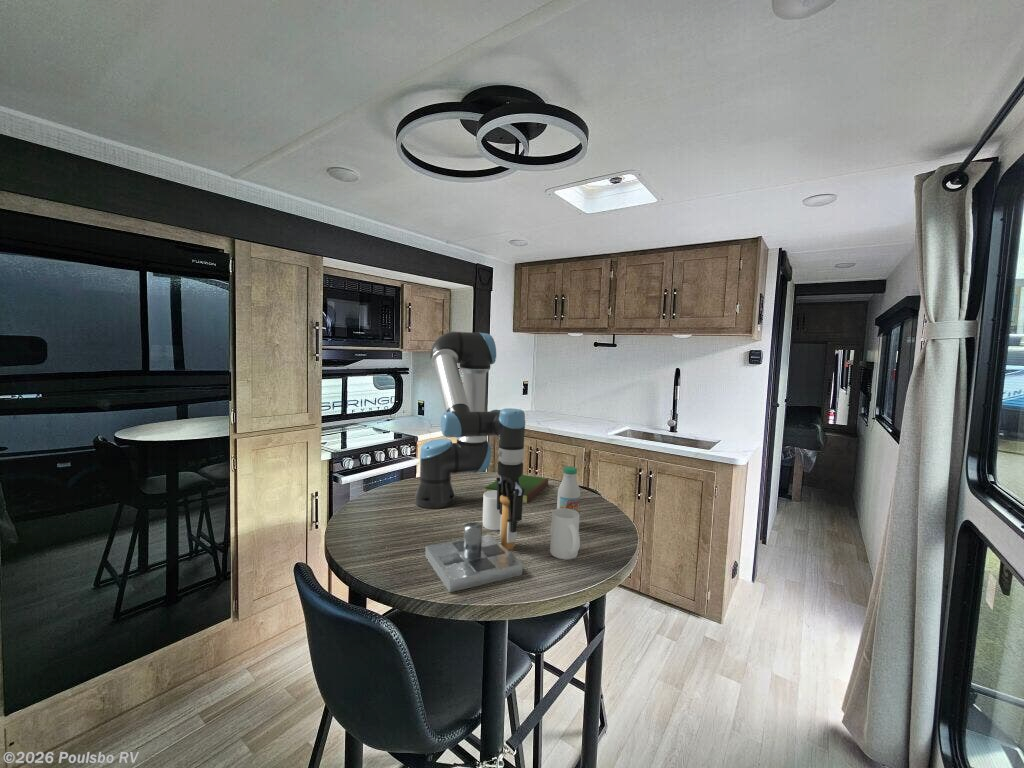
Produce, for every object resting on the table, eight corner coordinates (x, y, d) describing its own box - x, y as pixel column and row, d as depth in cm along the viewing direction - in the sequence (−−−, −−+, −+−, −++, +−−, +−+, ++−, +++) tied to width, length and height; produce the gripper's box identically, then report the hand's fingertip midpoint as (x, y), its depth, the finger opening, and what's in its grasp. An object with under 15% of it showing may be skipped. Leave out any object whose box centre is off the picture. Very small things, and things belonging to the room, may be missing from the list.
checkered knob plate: (425, 556, 122) (426, 518, 121) (489, 543, 132) (491, 508, 131) (449, 592, 105) (450, 548, 104) (521, 574, 114) (523, 534, 113)
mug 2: (563, 568, 119) (565, 525, 118) (545, 548, 130) (546, 509, 129) (589, 563, 121) (591, 522, 120) (569, 545, 133) (571, 507, 132)
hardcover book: (527, 504, 168) (528, 495, 167) (484, 496, 175) (484, 487, 175) (548, 486, 190) (548, 478, 190) (509, 480, 198) (509, 472, 198)
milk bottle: (551, 525, 147) (554, 467, 146) (565, 519, 153) (567, 463, 151) (570, 532, 142) (573, 472, 140) (583, 525, 148) (586, 468, 146)
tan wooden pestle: (495, 544, 131) (496, 495, 130) (511, 541, 134) (513, 493, 133) (503, 552, 126) (505, 501, 125) (520, 549, 129) (522, 499, 128)
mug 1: (519, 530, 142) (521, 498, 141) (483, 531, 141) (484, 498, 140) (516, 520, 151) (517, 490, 150) (481, 520, 149) (482, 490, 148)
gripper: (487, 455, 134) (484, 529, 136) (512, 470, 119) (509, 553, 121) (508, 453, 137) (506, 525, 139) (536, 467, 122) (533, 548, 124)
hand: (507, 538), depth 130 cm, fingers closed on tan wooden pestle, 4 cm apart
